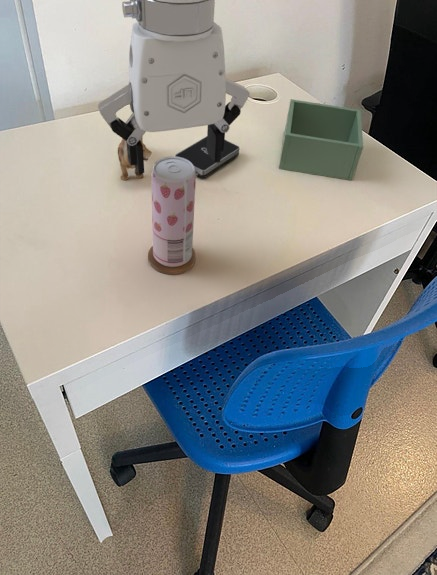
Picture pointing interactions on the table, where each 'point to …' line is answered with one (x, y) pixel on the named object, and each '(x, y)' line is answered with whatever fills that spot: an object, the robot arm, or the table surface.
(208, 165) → the external hard drive
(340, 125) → the crate
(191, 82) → the robot arm
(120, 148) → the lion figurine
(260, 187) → the table surface
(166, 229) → the beverage can
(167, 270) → the coaster
